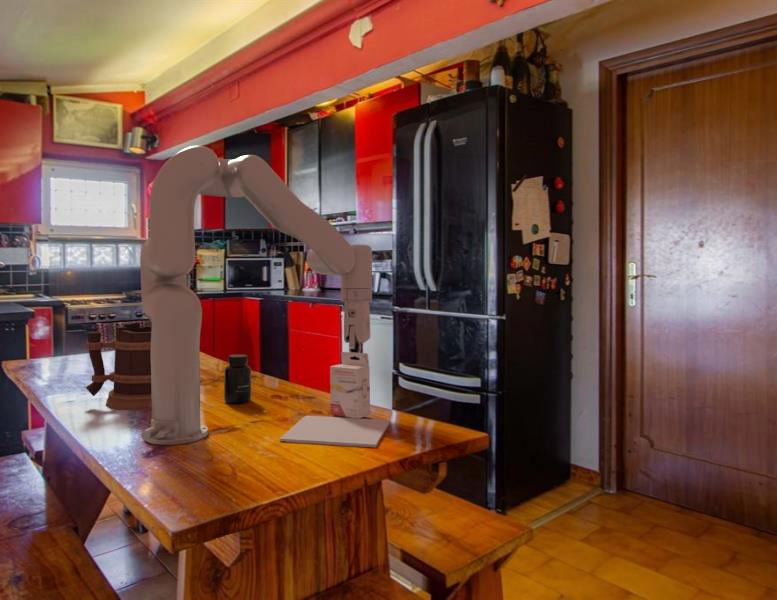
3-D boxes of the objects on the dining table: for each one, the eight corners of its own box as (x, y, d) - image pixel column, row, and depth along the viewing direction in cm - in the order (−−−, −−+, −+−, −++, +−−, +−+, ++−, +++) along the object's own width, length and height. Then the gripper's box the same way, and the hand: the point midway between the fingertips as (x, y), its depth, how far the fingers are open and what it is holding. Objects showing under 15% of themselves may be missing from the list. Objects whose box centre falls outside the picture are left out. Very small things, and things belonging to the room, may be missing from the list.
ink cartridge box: (329, 415, 139) (328, 353, 138) (342, 411, 143) (340, 351, 143) (359, 419, 134) (357, 355, 134) (371, 415, 138) (370, 352, 138)
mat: (375, 447, 116) (375, 444, 116) (279, 441, 120) (279, 438, 120) (389, 422, 134) (389, 420, 134) (305, 418, 137) (305, 415, 137)
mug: (82, 399, 152) (80, 323, 151) (173, 390, 165) (172, 319, 163) (91, 416, 137) (89, 331, 135) (190, 404, 149) (190, 326, 148)
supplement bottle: (244, 405, 149) (244, 358, 148) (219, 403, 150) (219, 357, 149) (255, 399, 155) (255, 354, 154) (231, 397, 157) (231, 353, 156)
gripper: (365, 297, 134) (365, 376, 136) (376, 294, 149) (376, 365, 151) (333, 297, 136) (333, 375, 137) (348, 293, 150) (347, 364, 152)
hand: (356, 369), depth 144 cm, fingers closed
